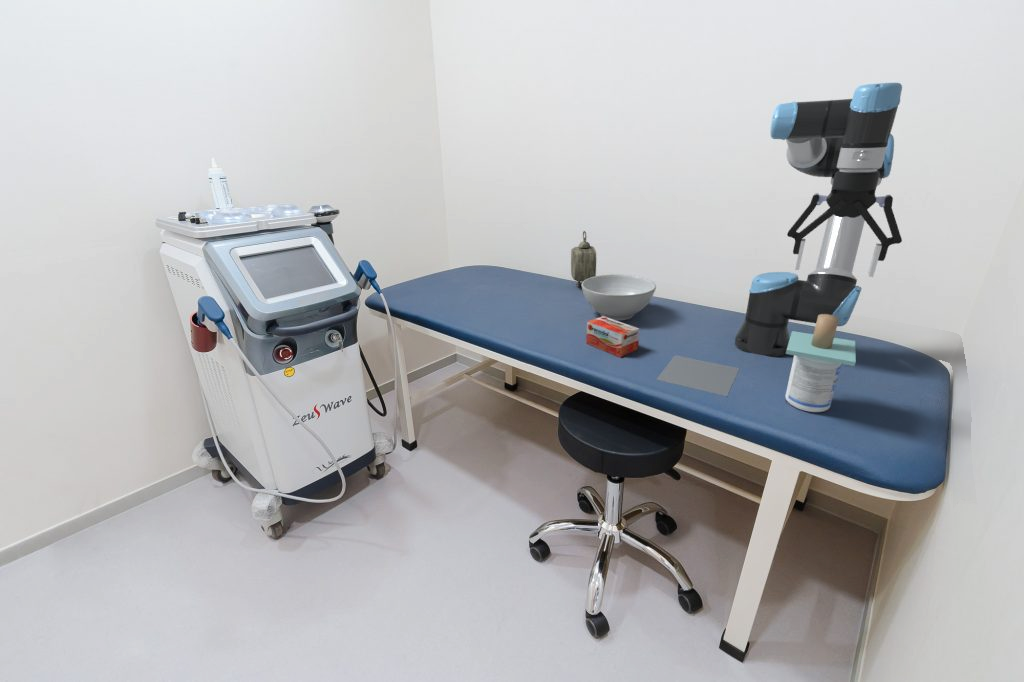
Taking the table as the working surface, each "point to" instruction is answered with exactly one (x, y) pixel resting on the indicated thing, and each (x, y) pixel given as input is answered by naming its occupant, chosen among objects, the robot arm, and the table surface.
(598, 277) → the decorative bowl
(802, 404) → the supplement tub
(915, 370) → the table surface
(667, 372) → the mat
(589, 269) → the grey hanging weight
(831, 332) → the lid
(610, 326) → the medicine box
